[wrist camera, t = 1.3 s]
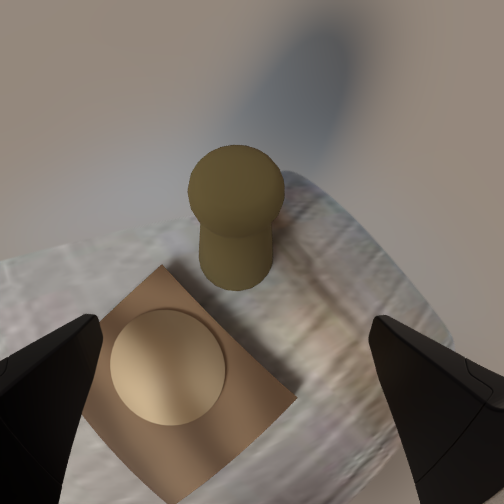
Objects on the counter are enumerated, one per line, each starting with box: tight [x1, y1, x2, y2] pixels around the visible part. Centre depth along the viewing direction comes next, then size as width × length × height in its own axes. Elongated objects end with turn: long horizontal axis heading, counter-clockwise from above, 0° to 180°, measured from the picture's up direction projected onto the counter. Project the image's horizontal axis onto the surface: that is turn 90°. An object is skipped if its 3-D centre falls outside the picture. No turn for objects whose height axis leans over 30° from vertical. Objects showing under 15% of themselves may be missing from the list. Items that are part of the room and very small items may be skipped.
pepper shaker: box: [188, 145, 284, 291], centre depth 19 cm, size 6×6×11 cm
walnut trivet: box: [82, 265, 297, 504], centre depth 19 cm, size 13×14×2 cm
